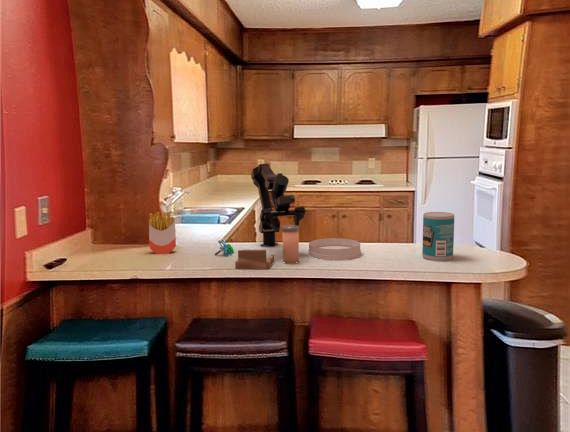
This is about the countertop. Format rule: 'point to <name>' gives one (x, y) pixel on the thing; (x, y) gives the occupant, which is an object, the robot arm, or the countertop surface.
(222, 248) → the stick construction toy
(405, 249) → the countertop surface
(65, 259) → the countertop surface
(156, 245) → the french fries container
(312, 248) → the dish
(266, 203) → the robot arm
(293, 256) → the jar
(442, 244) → the food can
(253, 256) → the brown wooden frame
